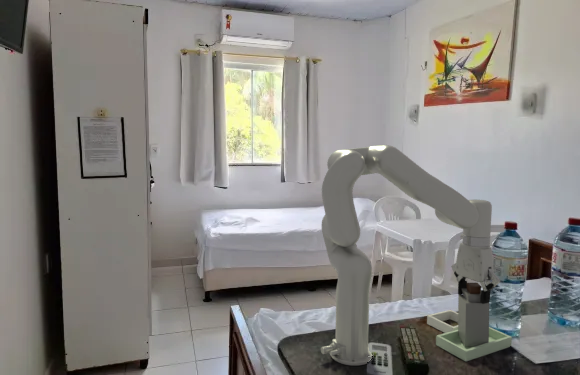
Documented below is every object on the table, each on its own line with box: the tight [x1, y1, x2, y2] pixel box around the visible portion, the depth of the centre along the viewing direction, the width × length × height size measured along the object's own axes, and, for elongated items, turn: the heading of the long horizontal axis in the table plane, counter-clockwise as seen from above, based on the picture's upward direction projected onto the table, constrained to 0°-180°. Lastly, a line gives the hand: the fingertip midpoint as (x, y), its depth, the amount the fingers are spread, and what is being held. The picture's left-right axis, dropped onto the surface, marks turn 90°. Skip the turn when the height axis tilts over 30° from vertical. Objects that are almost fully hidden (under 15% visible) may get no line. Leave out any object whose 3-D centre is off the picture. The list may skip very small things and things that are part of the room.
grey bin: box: [426, 309, 458, 334], centre depth 139 cm, size 11×11×3 cm
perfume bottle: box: [457, 282, 490, 346], centre depth 125 cm, size 7×7×18 cm
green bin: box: [435, 326, 513, 362], centre depth 126 cm, size 20×11×3 cm, turn 117°
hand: (473, 297), depth 124 cm, fingers closed on perfume bottle, 7 cm apart
